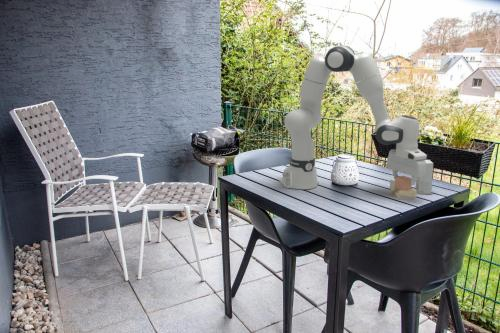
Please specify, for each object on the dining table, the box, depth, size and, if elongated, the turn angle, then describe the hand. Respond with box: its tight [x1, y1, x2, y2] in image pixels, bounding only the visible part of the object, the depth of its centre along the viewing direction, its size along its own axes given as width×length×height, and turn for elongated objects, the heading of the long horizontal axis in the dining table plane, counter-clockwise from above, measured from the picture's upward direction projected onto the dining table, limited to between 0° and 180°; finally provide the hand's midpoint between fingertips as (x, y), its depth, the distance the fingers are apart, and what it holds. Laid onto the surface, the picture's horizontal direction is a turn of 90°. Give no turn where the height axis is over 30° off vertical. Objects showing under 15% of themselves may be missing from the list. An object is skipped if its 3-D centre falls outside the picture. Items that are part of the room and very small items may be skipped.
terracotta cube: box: [395, 175, 413, 190], centre depth 172 cm, size 5×5×5 cm
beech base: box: [389, 186, 418, 200], centre depth 173 cm, size 8×8×4 cm
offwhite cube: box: [389, 177, 395, 190], centre depth 183 cm, size 5×5×5 cm
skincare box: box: [414, 159, 434, 195], centre depth 177 cm, size 8×6×15 cm
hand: (403, 182), depth 172 cm, fingers open, 8 cm apart
